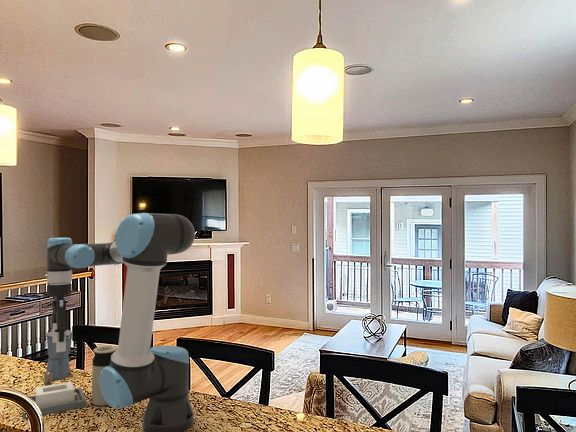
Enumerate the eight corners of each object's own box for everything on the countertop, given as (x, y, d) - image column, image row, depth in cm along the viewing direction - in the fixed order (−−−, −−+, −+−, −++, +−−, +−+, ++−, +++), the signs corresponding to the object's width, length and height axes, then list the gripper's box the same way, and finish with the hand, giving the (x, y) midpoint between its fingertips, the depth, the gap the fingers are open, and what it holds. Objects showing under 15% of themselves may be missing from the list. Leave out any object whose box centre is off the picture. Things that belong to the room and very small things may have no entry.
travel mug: (86, 405, 149) (87, 351, 149) (100, 396, 157) (101, 344, 157) (109, 407, 148) (110, 352, 148) (121, 397, 156) (122, 346, 156)
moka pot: (57, 383, 168) (58, 330, 168) (33, 376, 175) (34, 325, 176) (80, 376, 176) (80, 325, 176) (56, 369, 184) (57, 320, 184)
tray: (86, 406, 148) (86, 400, 148) (22, 418, 138) (23, 412, 138) (81, 393, 159) (81, 387, 159) (22, 403, 149) (22, 397, 149)
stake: (53, 392, 159) (53, 372, 160) (43, 394, 158) (43, 374, 158) (52, 389, 162) (52, 370, 162) (42, 391, 161) (42, 371, 161)
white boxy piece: (75, 395, 156) (75, 381, 156) (78, 403, 149) (78, 388, 149) (35, 402, 149) (35, 387, 149) (36, 411, 142) (36, 395, 142)
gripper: (44, 280, 159) (43, 340, 158) (49, 288, 138) (49, 357, 137) (67, 278, 163) (66, 337, 162) (76, 286, 142) (76, 353, 141)
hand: (58, 346), depth 150 cm, fingers open, 13 cm apart
